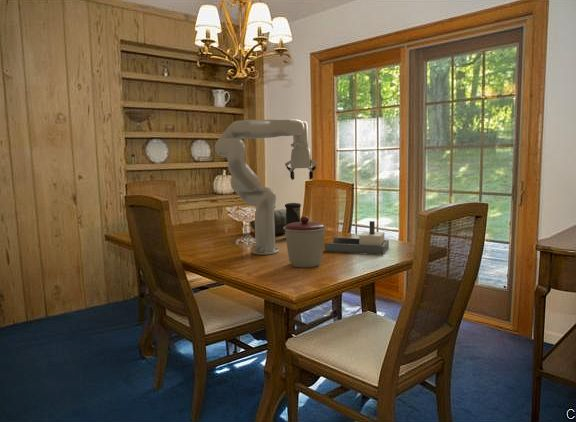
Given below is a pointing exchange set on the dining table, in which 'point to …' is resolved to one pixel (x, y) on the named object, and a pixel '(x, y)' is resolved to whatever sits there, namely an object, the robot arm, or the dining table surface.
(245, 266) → the dining table surface
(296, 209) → the container
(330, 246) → the bay
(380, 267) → the dining table surface
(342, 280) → the dining table surface
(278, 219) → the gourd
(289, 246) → the canister
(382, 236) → the block with upright handle
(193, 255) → the dining table surface
